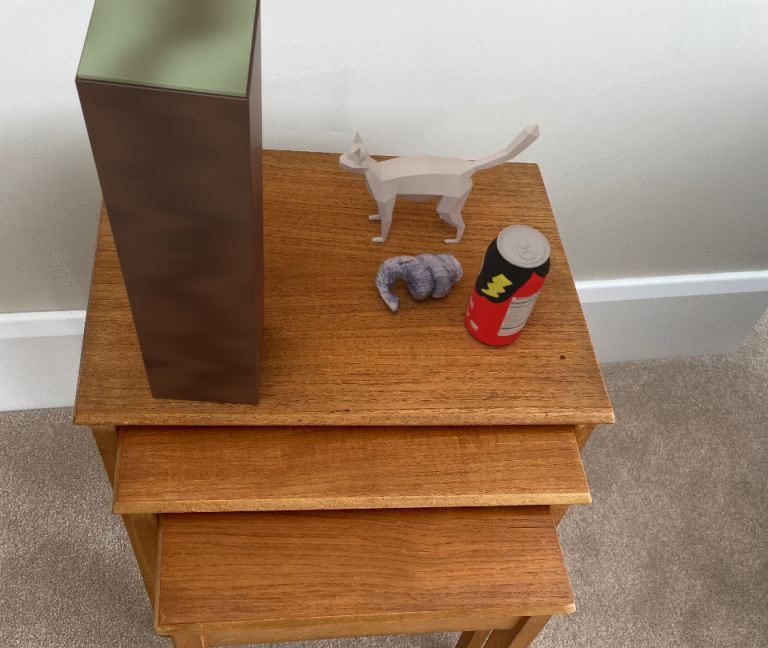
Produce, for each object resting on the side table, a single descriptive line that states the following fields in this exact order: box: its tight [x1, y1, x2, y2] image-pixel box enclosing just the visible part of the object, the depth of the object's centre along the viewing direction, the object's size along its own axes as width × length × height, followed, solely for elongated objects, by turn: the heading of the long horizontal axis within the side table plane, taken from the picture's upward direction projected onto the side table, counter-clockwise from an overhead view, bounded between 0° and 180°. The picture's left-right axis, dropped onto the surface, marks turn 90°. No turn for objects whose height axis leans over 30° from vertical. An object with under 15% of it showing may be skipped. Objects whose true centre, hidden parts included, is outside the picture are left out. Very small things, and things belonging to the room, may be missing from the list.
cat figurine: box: [338, 123, 541, 244], centre depth 82 cm, size 4×20×14 cm, turn 97°
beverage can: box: [464, 224, 551, 347], centre depth 78 cm, size 6×6×12 cm
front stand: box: [74, 0, 265, 406], centre depth 62 cm, size 10×10×33 cm
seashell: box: [374, 252, 464, 312], centre depth 82 cm, size 5×5×10 cm
